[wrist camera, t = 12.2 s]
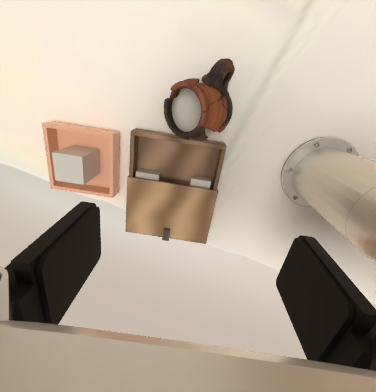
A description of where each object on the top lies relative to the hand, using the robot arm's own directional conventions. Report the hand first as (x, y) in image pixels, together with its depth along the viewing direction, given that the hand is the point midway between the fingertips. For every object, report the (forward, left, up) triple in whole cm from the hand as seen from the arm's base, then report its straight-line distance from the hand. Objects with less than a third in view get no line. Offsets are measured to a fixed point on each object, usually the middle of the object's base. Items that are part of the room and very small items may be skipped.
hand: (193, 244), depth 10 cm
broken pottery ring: (0, -6, -29) cm, 29 cm away
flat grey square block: (+8, +8, -28) cm, 30 cm away
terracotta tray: (+19, +6, -28) cm, 35 cm away
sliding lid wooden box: (+3, +9, -28) cm, 30 cm away
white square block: (-2, +8, -28) cm, 29 cm away
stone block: (+19, +6, -28) cm, 34 cm away
